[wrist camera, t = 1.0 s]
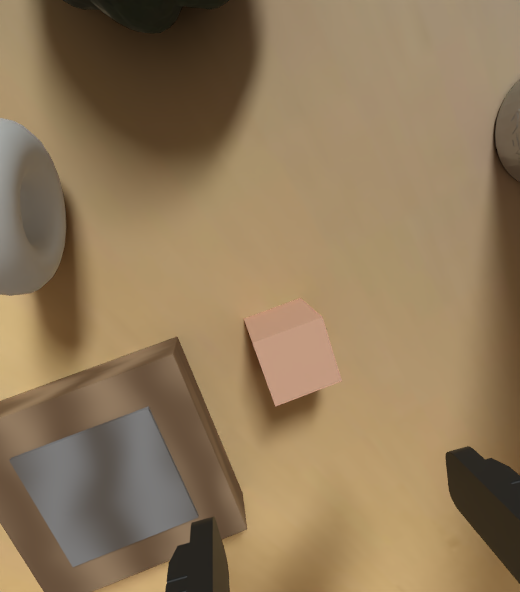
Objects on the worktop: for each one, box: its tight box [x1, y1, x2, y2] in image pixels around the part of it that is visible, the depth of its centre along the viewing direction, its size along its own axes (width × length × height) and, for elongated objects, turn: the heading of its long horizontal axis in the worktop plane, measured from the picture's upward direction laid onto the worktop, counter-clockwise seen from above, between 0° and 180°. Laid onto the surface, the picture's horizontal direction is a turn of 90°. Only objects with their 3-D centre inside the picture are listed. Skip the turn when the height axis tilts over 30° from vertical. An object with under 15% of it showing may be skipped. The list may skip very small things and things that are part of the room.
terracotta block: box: [244, 298, 342, 407], centre depth 28 cm, size 5×5×6 cm
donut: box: [0, 118, 66, 296], centre depth 22 cm, size 10×4×10 cm, turn 178°
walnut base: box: [0, 337, 247, 592], centre depth 29 cm, size 16×16×4 cm
